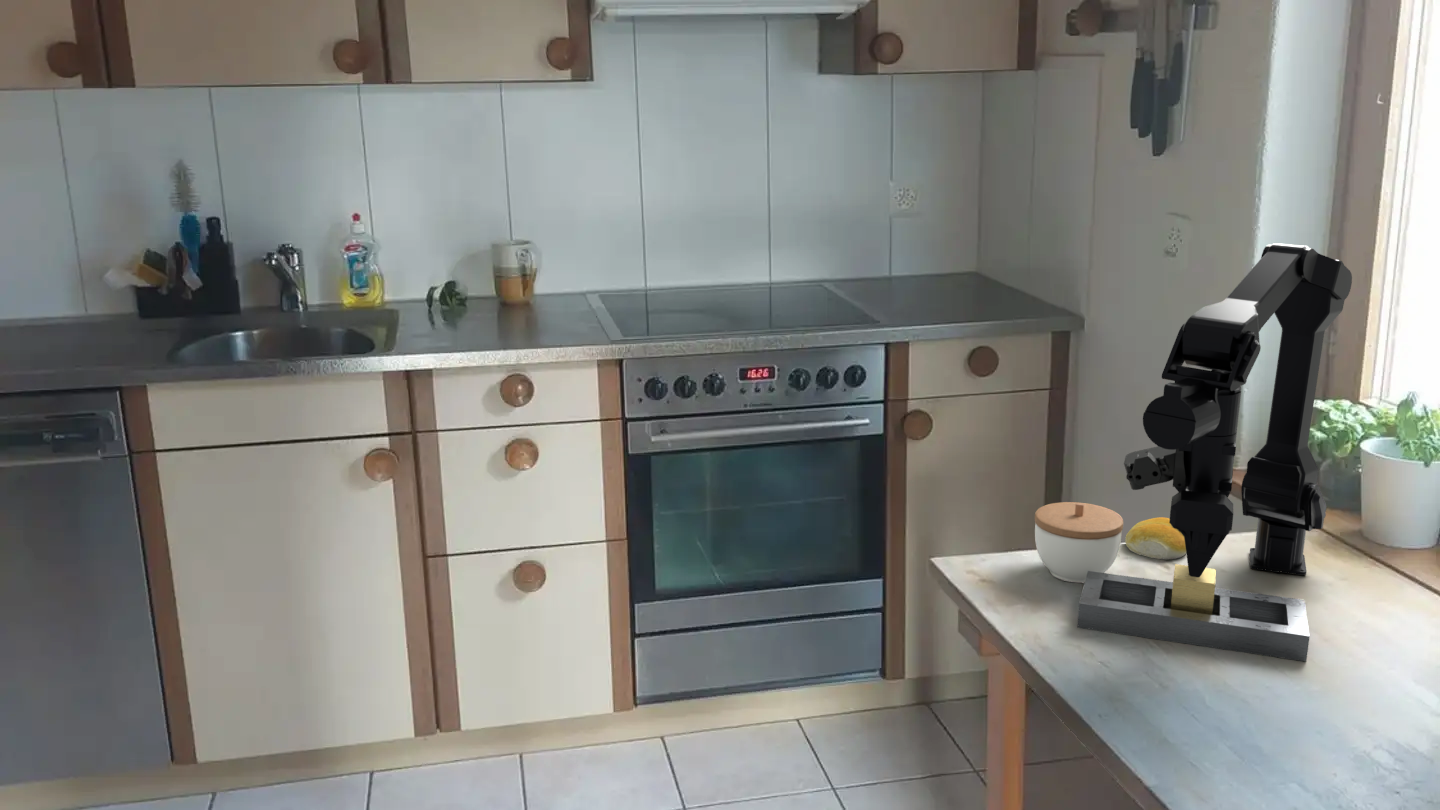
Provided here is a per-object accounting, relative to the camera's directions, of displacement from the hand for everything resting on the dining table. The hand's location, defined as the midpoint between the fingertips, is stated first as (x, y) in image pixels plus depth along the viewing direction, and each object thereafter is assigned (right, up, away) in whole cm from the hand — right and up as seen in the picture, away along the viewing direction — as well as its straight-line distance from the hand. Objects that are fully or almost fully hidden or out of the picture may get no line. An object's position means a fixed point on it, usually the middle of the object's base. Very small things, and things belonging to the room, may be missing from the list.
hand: (1195, 561), depth 140 cm
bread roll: (+5, -2, +25) cm, 26 cm away
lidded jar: (-9, -4, +17) cm, 20 cm away
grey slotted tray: (0, -8, +2) cm, 8 cm away
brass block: (0, -8, +2) cm, 8 cm away
